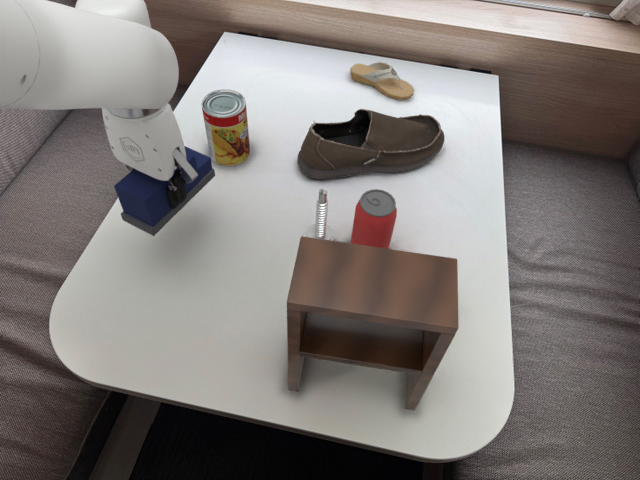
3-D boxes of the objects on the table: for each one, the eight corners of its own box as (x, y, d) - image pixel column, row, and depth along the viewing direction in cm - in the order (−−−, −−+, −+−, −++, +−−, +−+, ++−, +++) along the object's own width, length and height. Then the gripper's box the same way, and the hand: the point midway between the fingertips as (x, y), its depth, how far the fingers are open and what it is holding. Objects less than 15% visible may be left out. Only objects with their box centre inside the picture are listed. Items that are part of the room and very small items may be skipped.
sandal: (408, 104, 114) (412, 85, 110) (343, 83, 118) (345, 64, 114) (418, 88, 118) (422, 68, 114) (355, 68, 122) (357, 49, 118)
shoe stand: (287, 390, 73) (286, 302, 54) (298, 333, 79) (301, 235, 60) (414, 410, 72) (458, 328, 53) (417, 351, 78) (457, 258, 59)
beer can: (362, 227, 92) (371, 180, 83) (394, 245, 90) (407, 199, 81) (342, 251, 89) (348, 204, 79) (374, 270, 87) (385, 225, 77)
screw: (337, 249, 89) (309, 254, 88) (329, 228, 92) (302, 233, 91) (343, 198, 79) (312, 203, 78) (334, 176, 82) (304, 180, 81)
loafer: (451, 162, 103) (465, 120, 95) (310, 196, 96) (312, 154, 88) (426, 128, 110) (437, 85, 101) (291, 157, 102) (292, 114, 94)
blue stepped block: (153, 236, 76) (143, 204, 71) (122, 220, 78) (110, 187, 73) (215, 175, 85) (210, 142, 79) (186, 162, 86) (179, 128, 81)
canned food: (256, 159, 102) (252, 110, 92) (217, 171, 99) (209, 121, 90) (241, 134, 106) (236, 85, 96) (204, 145, 103) (195, 95, 94)
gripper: (61, 86, 65) (101, 188, 79) (169, 134, 60) (192, 233, 75) (104, 58, 69) (135, 159, 83) (208, 101, 65) (223, 200, 79)
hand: (162, 193), depth 79 cm, fingers closed on blue stepped block, 5 cm apart
